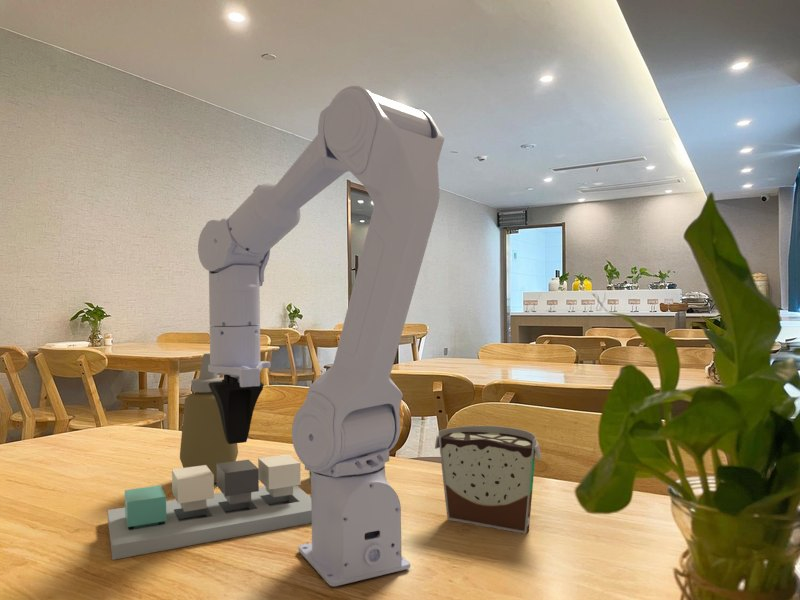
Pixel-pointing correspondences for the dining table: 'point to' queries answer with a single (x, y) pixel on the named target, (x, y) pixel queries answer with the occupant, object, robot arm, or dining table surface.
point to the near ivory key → (279, 474)
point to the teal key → (145, 506)
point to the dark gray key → (237, 480)
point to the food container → (488, 475)
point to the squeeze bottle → (204, 426)
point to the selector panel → (209, 522)
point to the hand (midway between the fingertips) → (236, 442)
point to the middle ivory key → (192, 487)
